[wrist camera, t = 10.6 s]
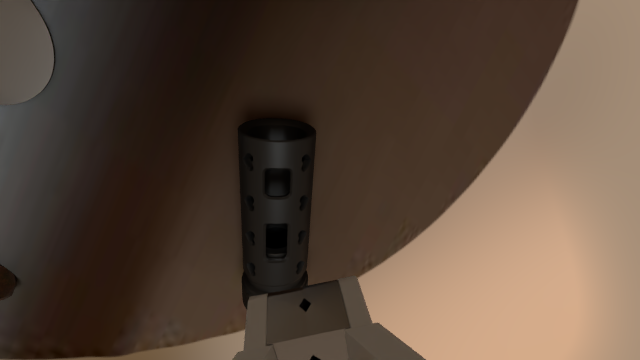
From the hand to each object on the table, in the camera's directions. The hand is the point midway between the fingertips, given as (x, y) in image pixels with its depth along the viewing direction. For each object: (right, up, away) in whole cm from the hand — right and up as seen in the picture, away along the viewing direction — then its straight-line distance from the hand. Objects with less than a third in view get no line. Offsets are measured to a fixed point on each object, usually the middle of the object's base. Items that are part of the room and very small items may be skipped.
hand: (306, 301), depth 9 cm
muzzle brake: (-6, -1, +39) cm, 40 cm away
